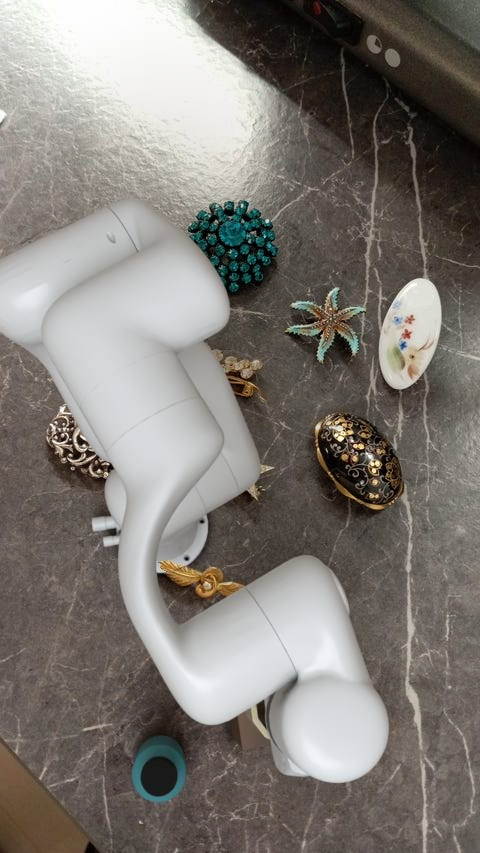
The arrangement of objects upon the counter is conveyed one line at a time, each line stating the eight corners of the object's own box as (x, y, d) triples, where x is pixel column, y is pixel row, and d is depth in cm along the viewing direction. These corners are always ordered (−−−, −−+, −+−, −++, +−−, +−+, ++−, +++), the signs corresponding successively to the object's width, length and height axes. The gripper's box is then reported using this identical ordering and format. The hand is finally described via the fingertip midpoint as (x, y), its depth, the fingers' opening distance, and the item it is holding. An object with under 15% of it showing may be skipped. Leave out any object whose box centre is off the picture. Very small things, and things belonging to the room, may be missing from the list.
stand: (231, 735, 119) (242, 750, 98) (221, 665, 121) (230, 666, 100) (298, 724, 119) (323, 737, 99) (287, 655, 122) (309, 653, 101)
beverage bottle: (134, 735, 118) (125, 749, 98) (185, 730, 118) (186, 743, 99) (136, 788, 116) (128, 813, 97) (188, 783, 117) (190, 807, 97)
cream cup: (249, 740, 99) (256, 749, 89) (239, 673, 100) (245, 674, 91) (313, 730, 99) (328, 737, 90) (302, 663, 101) (315, 663, 91)
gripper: (252, 624, 74) (238, 631, 92) (283, 829, 70) (262, 795, 88) (341, 610, 75) (310, 620, 92) (376, 813, 71) (337, 783, 89)
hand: (287, 706), depth 90 cm, fingers closed
